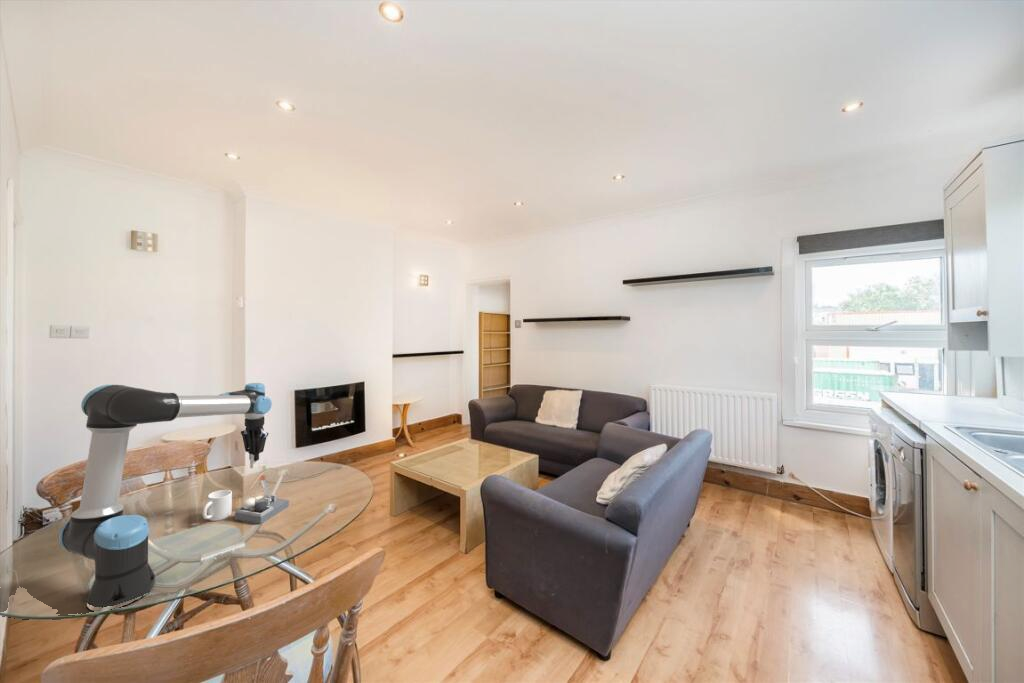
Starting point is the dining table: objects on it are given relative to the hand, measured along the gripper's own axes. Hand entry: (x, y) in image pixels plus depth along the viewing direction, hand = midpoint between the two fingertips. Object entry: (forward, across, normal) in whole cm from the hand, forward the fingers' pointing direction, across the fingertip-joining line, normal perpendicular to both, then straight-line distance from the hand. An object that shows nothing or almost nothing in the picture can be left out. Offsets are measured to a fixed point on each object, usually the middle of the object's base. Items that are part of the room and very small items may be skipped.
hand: (254, 467), depth 174 cm
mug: (+19, +6, +13) cm, 24 cm away
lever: (+15, -9, 0) cm, 17 cm away
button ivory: (+14, -5, +8) cm, 17 cm away
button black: (+15, -11, +7) cm, 20 cm away
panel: (+19, -8, +3) cm, 21 cm away
